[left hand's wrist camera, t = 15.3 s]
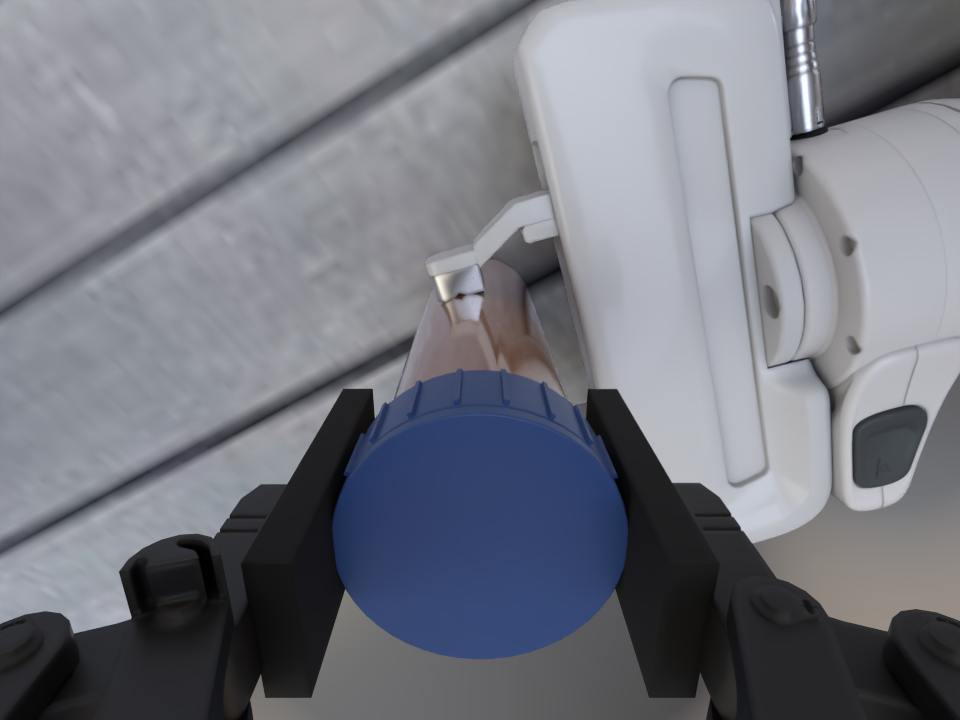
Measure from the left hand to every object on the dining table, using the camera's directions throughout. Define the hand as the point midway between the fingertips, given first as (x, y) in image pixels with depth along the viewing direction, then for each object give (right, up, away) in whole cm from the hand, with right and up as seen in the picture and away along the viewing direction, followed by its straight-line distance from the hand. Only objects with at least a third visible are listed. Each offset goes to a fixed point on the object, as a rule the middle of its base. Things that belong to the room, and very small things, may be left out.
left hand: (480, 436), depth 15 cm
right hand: (-1, +2, +6) cm, 7 cm away
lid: (0, -1, -4) cm, 4 cm away
